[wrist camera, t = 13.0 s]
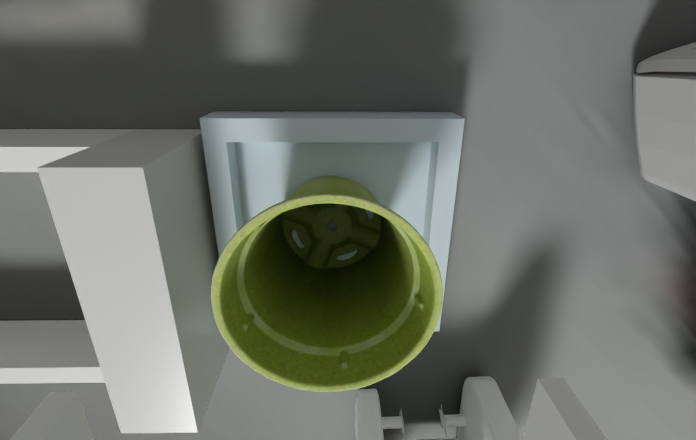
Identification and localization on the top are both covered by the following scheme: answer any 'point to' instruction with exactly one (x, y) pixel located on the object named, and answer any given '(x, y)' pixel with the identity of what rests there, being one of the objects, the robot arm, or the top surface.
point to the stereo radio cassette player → (667, 119)
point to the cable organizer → (473, 421)
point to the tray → (335, 165)
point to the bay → (125, 272)
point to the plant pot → (327, 289)
